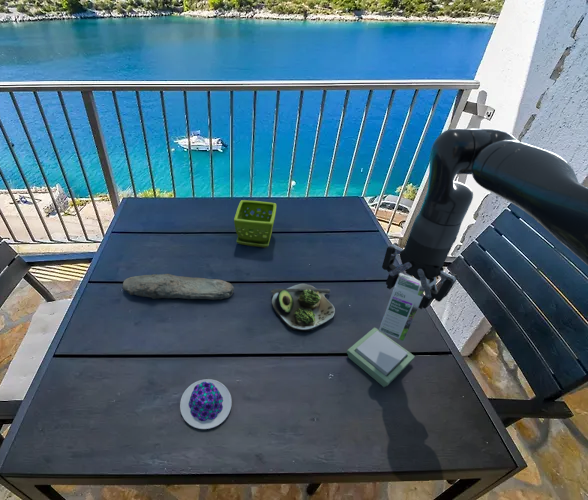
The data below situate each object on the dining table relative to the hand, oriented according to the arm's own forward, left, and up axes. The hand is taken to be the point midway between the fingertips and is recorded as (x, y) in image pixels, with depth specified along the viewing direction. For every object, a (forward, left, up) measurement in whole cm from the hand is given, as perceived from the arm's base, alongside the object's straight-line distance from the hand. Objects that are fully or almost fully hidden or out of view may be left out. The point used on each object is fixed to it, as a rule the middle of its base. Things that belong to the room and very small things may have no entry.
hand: (405, 296), depth 76 cm
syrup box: (0, 0, -11) cm, 11 cm away
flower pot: (+60, -9, -24) cm, 65 cm away
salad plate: (+25, +3, -24) cm, 35 cm away
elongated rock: (+54, +28, -24) cm, 65 cm away
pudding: (+18, +42, -24) cm, 52 cm away
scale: (0, 0, -24) cm, 24 cm away
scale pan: (0, 0, -21) cm, 21 cm away
